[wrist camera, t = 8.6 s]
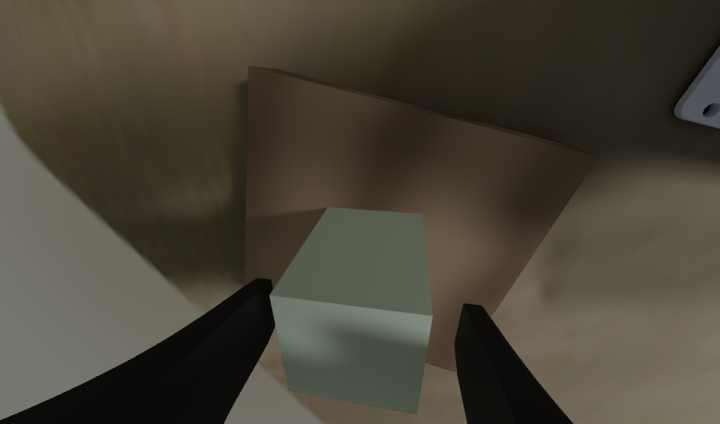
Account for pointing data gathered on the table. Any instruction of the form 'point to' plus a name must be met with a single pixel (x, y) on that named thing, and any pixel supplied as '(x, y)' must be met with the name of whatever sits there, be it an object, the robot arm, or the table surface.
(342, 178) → the walnut base
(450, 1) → the table surface
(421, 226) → the sage block
